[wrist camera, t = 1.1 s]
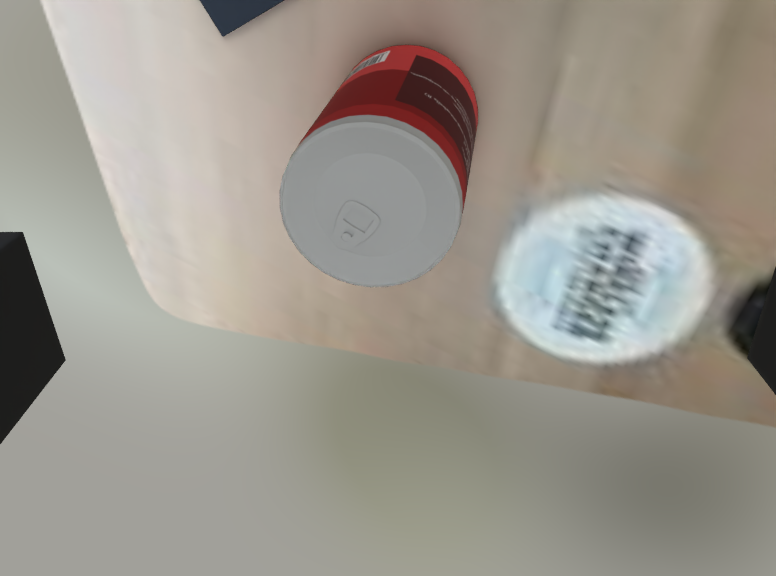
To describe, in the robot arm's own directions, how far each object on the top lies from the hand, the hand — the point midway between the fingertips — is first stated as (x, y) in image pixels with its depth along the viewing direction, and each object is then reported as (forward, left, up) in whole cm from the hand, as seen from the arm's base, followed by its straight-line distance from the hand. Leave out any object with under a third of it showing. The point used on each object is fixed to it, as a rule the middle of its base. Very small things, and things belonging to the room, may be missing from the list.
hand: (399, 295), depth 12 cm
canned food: (+6, +4, -25) cm, 26 cm away
